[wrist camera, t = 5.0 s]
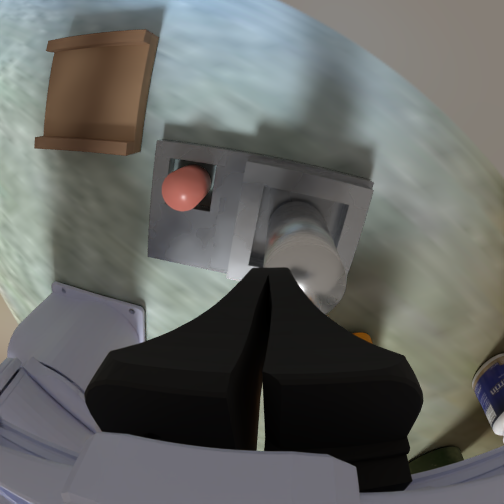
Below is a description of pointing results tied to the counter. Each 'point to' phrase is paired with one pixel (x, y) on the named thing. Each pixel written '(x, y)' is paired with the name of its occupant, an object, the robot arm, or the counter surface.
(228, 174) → the socket block
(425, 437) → the counter surface
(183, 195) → the button
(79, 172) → the counter surface
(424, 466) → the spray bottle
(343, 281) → the steel round bar
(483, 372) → the pill bottle
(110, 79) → the brown piece
